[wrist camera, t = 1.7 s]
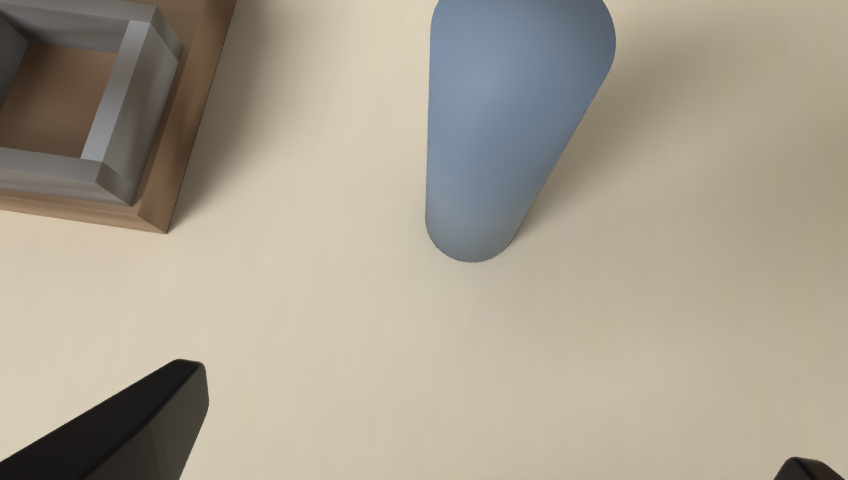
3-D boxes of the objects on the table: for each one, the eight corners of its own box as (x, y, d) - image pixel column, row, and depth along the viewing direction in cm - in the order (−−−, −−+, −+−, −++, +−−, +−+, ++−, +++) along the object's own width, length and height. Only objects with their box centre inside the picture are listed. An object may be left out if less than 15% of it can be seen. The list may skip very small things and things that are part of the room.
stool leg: (435, 270, 23) (452, 131, 11) (417, 184, 24) (414, -27, 12) (526, 252, 23) (640, 98, 11) (504, 168, 24) (585, -55, 12)
